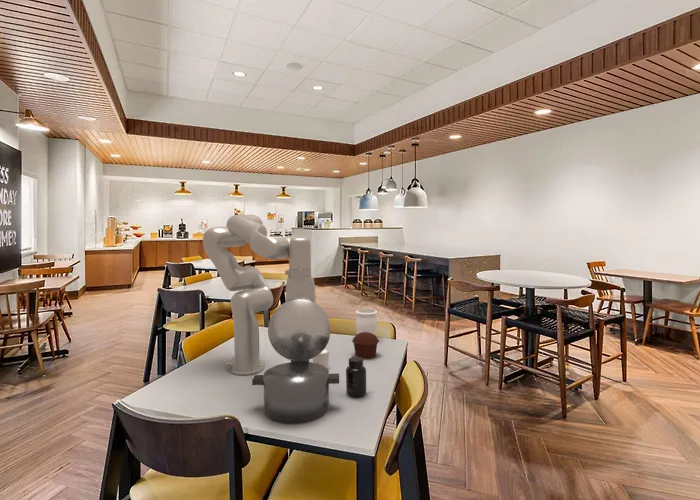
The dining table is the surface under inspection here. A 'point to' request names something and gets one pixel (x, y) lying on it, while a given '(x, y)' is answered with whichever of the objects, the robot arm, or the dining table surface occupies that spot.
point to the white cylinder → (322, 358)
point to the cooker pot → (296, 391)
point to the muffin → (365, 345)
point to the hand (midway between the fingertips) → (301, 325)
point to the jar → (366, 321)
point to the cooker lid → (299, 330)
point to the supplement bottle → (356, 378)
